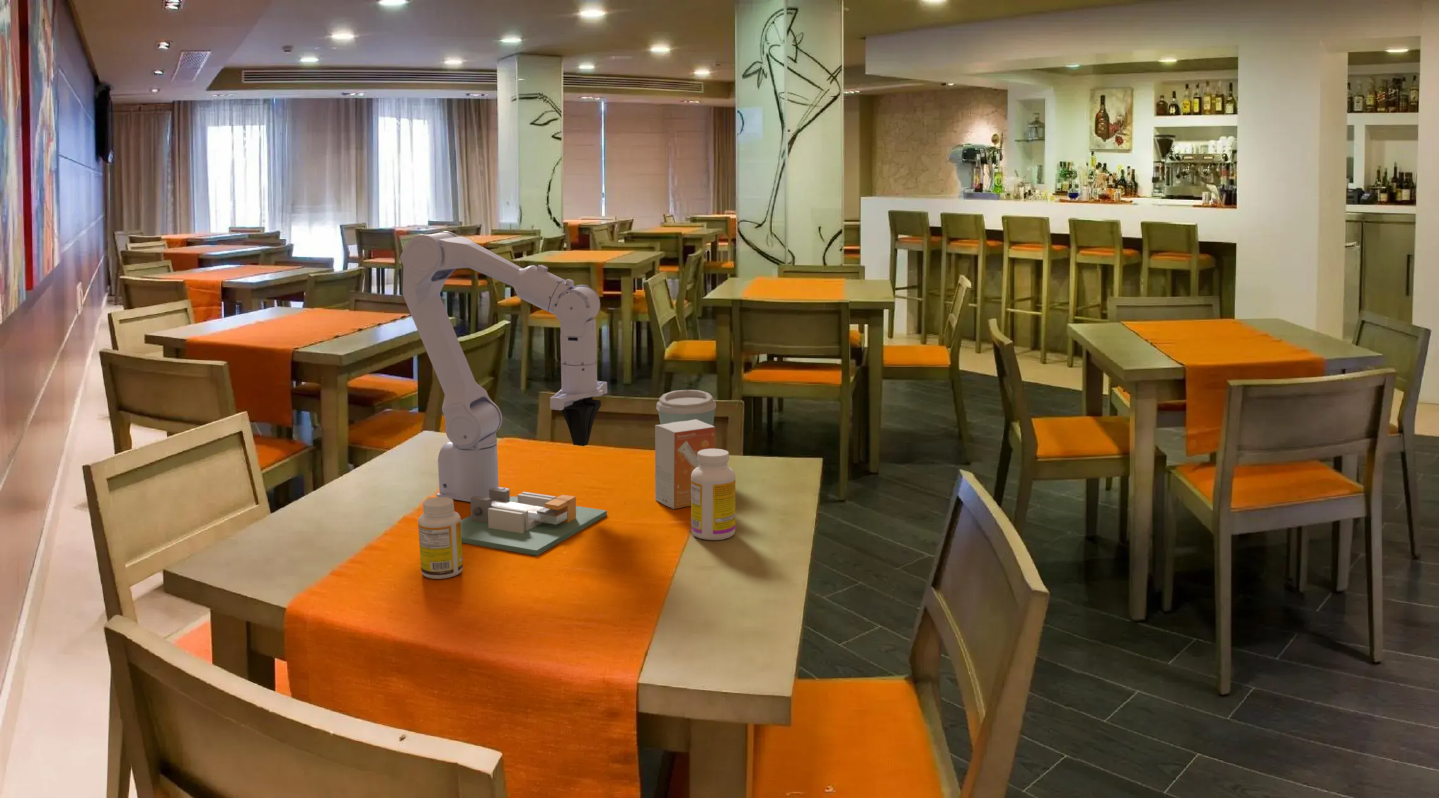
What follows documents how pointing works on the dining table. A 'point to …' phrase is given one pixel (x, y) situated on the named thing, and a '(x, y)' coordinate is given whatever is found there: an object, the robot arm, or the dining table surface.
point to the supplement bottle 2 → (713, 496)
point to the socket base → (519, 523)
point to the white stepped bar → (535, 511)
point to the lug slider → (564, 506)
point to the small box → (679, 459)
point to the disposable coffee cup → (686, 406)
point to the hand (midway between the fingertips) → (580, 444)
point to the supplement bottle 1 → (440, 539)
